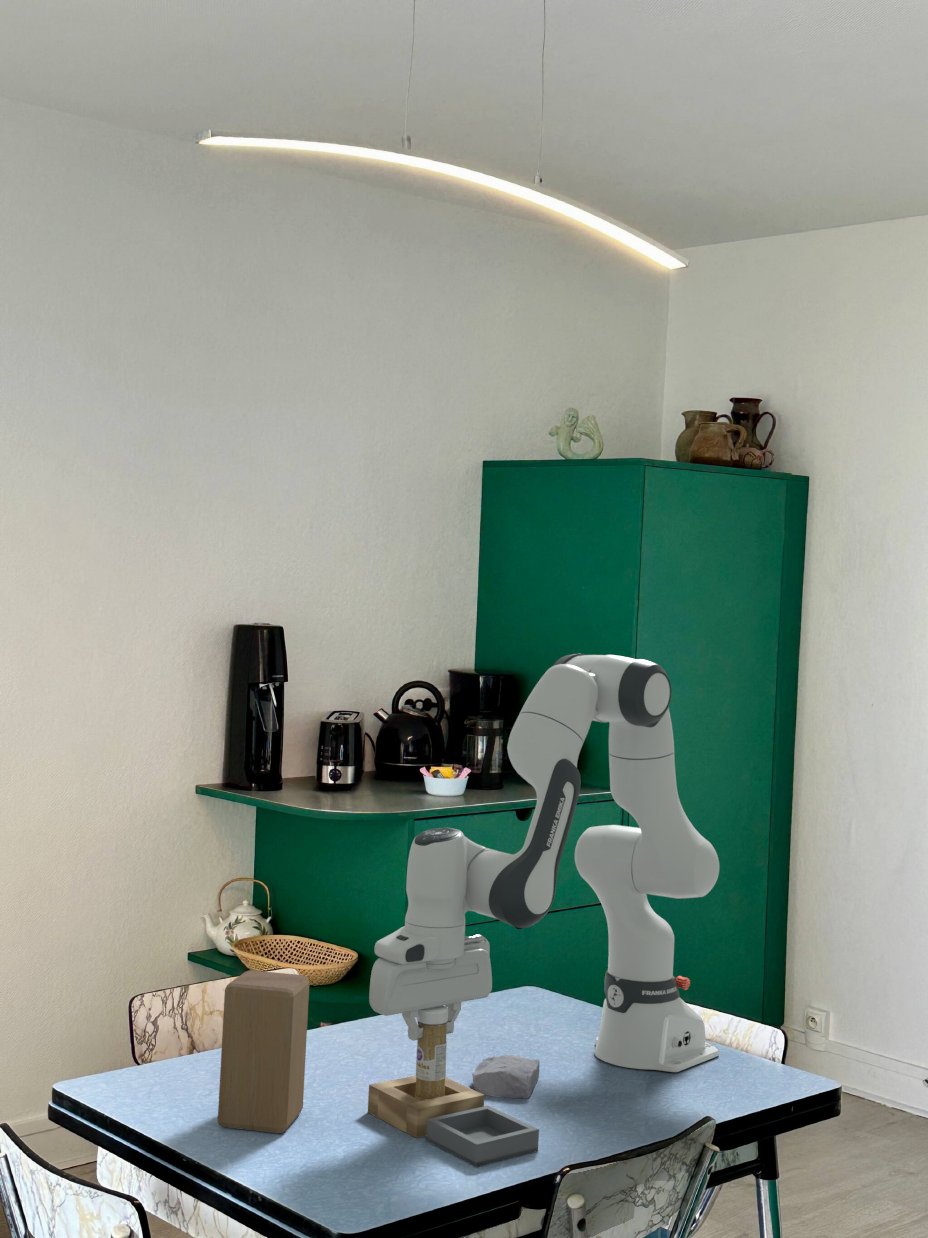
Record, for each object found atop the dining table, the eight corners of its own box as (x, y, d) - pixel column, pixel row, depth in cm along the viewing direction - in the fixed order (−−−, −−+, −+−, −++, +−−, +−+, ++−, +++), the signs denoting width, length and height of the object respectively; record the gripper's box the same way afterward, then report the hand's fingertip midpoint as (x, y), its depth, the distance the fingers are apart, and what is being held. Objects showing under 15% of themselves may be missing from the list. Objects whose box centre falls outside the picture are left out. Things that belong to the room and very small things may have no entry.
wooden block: (238, 1105, 197) (245, 968, 198) (304, 1112, 196) (311, 974, 196) (214, 1129, 187) (222, 984, 188) (284, 1136, 186) (292, 991, 186)
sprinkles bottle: (408, 1099, 196) (410, 1006, 196) (430, 1092, 200) (432, 1001, 200) (430, 1107, 193) (432, 1013, 193) (452, 1100, 196) (454, 1007, 197)
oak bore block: (432, 1098, 204) (434, 1072, 204) (483, 1122, 195) (484, 1095, 195) (367, 1112, 197) (369, 1084, 197) (416, 1138, 187) (418, 1109, 188)
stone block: (470, 1107, 207) (534, 1100, 206) (466, 1075, 208) (530, 1068, 206) (483, 1086, 219) (543, 1079, 217) (479, 1056, 219) (539, 1049, 218)
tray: (486, 1126, 193) (488, 1105, 194) (538, 1151, 185) (539, 1129, 185) (425, 1141, 187) (426, 1119, 187) (475, 1167, 178) (477, 1144, 178)
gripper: (476, 929, 206) (472, 1019, 206) (365, 944, 193) (361, 1041, 193) (502, 937, 201) (499, 1030, 201) (390, 954, 188) (386, 1053, 188)
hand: (430, 1036), depth 197 cm, fingers closed on sprinkles bottle, 4 cm apart
